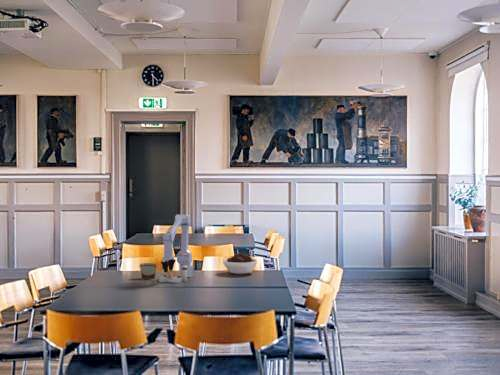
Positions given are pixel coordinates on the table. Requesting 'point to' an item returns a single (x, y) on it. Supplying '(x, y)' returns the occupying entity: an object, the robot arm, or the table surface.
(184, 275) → the cable post
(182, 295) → the table surface
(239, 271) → the white bowl
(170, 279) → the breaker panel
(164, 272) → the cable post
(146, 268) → the food container
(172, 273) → the block
